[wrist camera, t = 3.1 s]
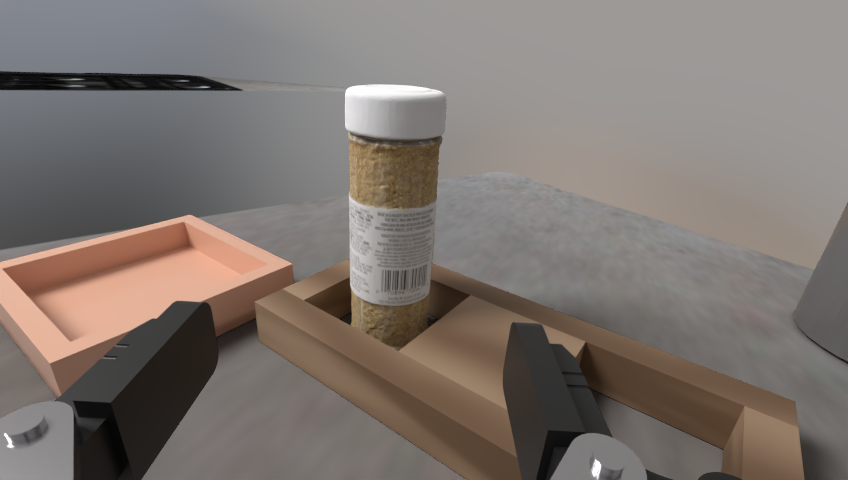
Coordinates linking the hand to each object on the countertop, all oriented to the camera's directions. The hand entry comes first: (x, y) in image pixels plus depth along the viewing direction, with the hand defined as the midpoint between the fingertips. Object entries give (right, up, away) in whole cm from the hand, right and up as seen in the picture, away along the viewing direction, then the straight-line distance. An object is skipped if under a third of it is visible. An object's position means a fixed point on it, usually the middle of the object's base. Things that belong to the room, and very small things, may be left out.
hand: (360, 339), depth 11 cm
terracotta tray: (-15, -1, +14) cm, 21 cm away
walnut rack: (+5, -5, +10) cm, 12 cm away
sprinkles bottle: (0, -3, +13) cm, 13 cm away
